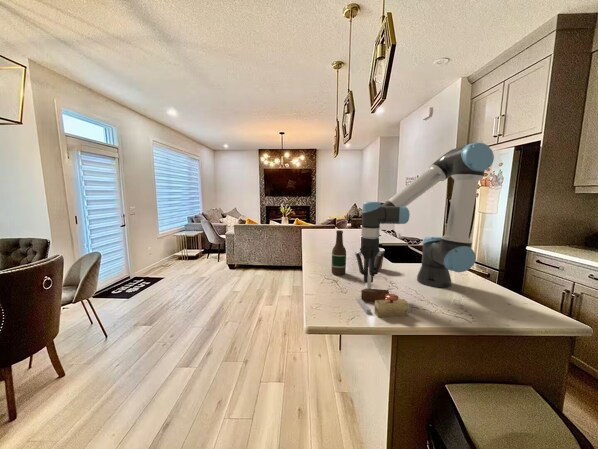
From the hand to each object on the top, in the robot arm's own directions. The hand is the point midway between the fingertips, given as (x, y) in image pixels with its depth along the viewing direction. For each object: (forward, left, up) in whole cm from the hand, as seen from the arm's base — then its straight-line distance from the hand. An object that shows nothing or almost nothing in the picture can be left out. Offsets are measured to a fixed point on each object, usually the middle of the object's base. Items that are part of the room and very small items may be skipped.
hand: (367, 289), depth 111 cm
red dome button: (0, +22, -1) cm, 22 cm away
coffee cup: (-18, -35, -2) cm, 39 cm away
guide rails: (0, +15, -1) cm, 15 cm away
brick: (+1, +9, -2) cm, 10 cm away
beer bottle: (+6, -28, -2) cm, 29 cm away
